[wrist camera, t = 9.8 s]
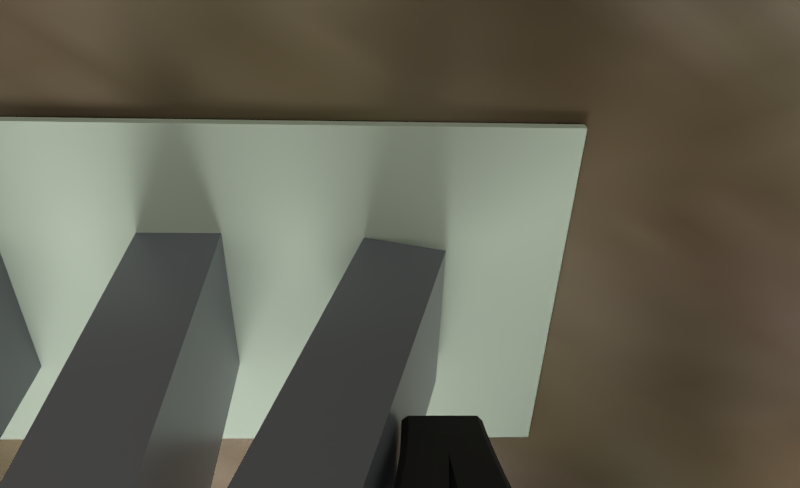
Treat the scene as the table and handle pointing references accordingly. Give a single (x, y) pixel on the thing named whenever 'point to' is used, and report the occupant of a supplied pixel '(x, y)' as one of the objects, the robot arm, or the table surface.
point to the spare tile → (142, 377)
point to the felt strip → (298, 236)
